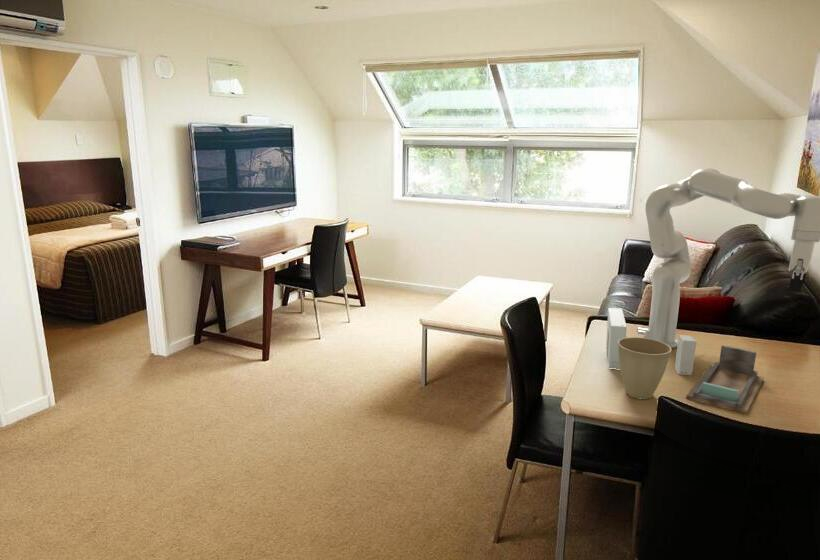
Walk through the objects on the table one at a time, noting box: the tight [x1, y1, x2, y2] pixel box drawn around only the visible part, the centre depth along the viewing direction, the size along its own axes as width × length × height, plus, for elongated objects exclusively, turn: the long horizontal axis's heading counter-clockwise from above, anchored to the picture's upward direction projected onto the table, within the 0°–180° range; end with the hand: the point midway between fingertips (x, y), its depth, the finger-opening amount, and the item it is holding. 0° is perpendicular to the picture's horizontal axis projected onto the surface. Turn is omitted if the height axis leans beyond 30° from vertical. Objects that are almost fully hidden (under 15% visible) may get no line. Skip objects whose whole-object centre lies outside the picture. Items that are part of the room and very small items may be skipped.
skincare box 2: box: [674, 334, 697, 376], centre depth 191 cm, size 6×4×12 cm
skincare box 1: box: [605, 307, 627, 369], centre depth 201 cm, size 21×6×16 cm, turn 164°
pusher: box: [701, 382, 739, 402], centre depth 170 cm, size 9×1×4 cm, turn 51°
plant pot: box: [618, 336, 673, 400], centre depth 174 cm, size 15×15×16 cm
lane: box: [686, 344, 764, 415], centre depth 178 cm, size 16×30×9 cm, turn 141°
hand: (796, 288), depth 185 cm, fingers open, 9 cm apart
